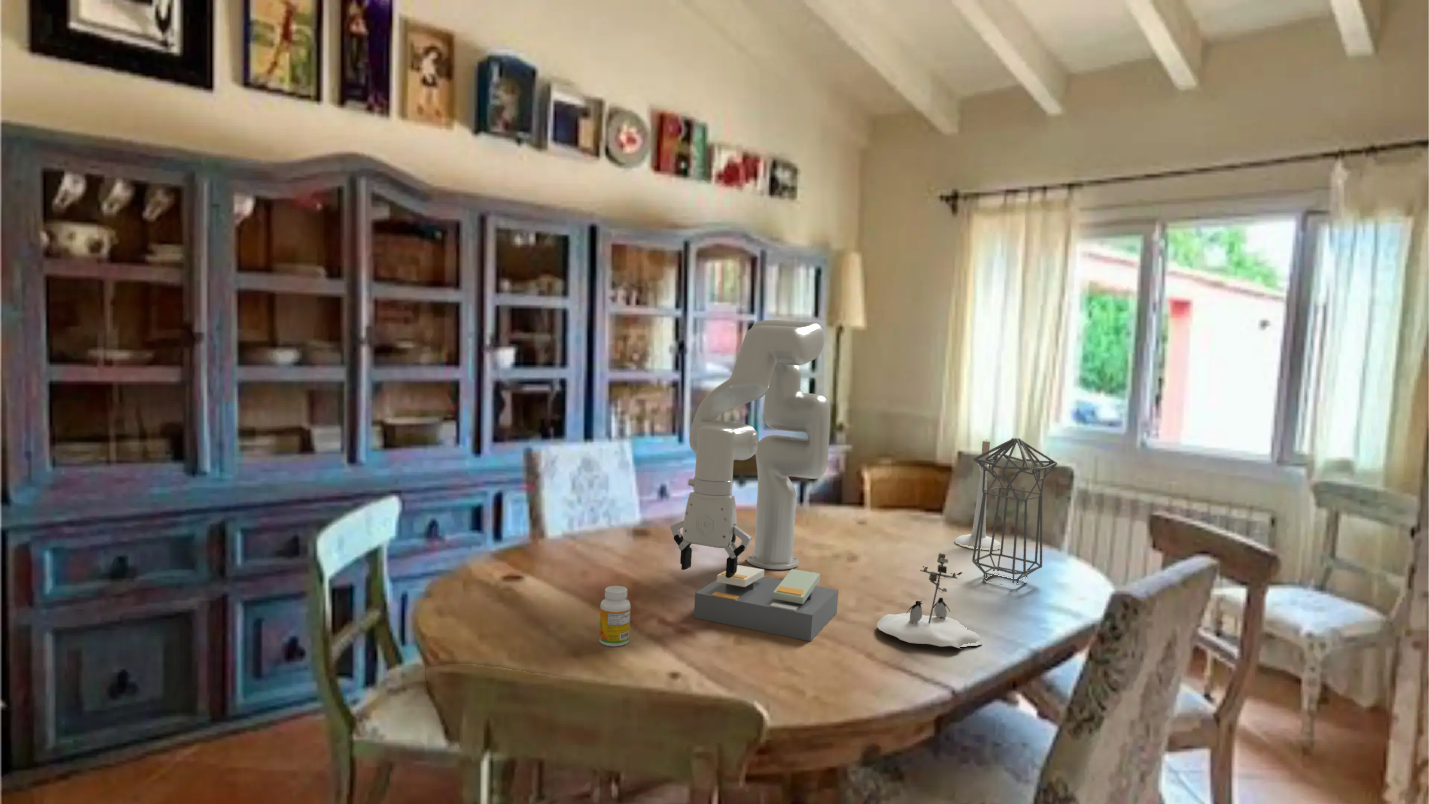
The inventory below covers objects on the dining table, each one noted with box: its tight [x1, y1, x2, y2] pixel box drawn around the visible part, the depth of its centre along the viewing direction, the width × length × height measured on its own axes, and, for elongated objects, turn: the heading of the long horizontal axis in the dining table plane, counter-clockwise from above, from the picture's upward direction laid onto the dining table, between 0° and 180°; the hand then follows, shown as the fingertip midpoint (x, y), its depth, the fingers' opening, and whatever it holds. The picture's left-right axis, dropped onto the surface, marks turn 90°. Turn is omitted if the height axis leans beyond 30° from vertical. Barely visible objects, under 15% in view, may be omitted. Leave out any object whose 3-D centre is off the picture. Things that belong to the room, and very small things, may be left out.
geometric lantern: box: [971, 437, 1058, 584], centre depth 201 cm, size 16×16×35 cm
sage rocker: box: [773, 568, 821, 604], centre depth 168 cm, size 11×6×2 cm, turn 156°
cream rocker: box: [716, 564, 765, 587], centre depth 173 cm, size 11×6×2 cm, turn 157°
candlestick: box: [954, 439, 1001, 548], centre depth 238 cm, size 13×13×30 cm
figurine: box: [876, 552, 981, 649], centre depth 164 cm, size 20×18×16 cm
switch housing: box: [693, 576, 839, 642], centre depth 170 cm, size 18×24×6 cm
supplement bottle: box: [598, 585, 632, 647], centre depth 152 cm, size 5×5×10 cm
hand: (707, 572), depth 170 cm, fingers open, 9 cm apart
